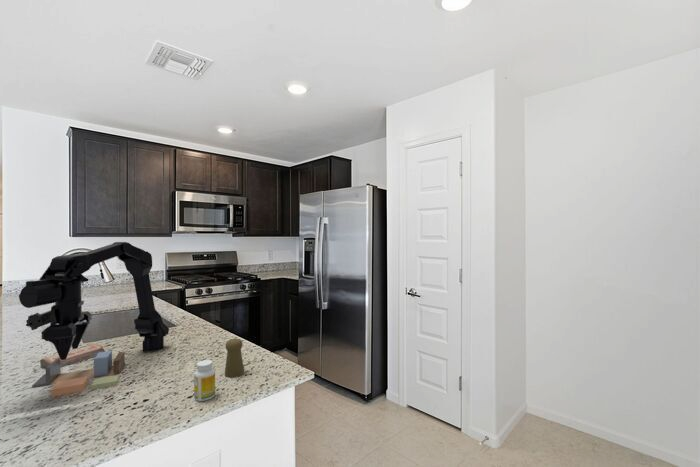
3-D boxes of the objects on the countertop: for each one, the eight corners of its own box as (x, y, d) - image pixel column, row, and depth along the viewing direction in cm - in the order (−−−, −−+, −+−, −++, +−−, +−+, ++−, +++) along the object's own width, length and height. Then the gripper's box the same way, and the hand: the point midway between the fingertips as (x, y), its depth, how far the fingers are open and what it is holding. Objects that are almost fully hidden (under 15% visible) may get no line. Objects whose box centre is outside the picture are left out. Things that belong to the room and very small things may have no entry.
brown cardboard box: (88, 387, 97) (88, 376, 97) (83, 396, 92) (83, 383, 92) (57, 393, 94) (57, 381, 94) (51, 402, 89) (51, 389, 89)
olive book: (119, 383, 100) (119, 374, 100) (116, 390, 96) (116, 380, 96) (95, 388, 97) (95, 378, 97) (91, 395, 93) (91, 385, 93)
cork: (248, 370, 107) (247, 337, 107) (236, 378, 102) (235, 343, 101) (233, 368, 109) (232, 335, 109) (220, 376, 104) (219, 341, 103)
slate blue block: (112, 367, 108) (111, 350, 108) (107, 374, 103) (107, 357, 103) (99, 369, 107) (99, 352, 107) (94, 376, 101) (93, 358, 101)
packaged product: (94, 341, 125) (108, 345, 120) (94, 353, 125) (108, 358, 120) (31, 358, 109) (45, 363, 104) (32, 372, 109) (45, 378, 104)
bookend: (60, 373, 103) (60, 358, 103) (50, 384, 96) (49, 367, 96) (44, 376, 102) (43, 360, 102) (32, 387, 95) (32, 370, 94)
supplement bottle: (190, 401, 88) (189, 366, 88) (201, 391, 94) (200, 358, 94) (208, 402, 88) (208, 367, 88) (219, 392, 93) (218, 359, 93)
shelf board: (124, 367, 111) (124, 351, 111) (119, 377, 103) (118, 360, 103) (42, 380, 102) (42, 362, 102) (29, 392, 94) (29, 373, 94)
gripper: (45, 296, 98) (46, 347, 98) (13, 309, 81) (15, 372, 81) (91, 293, 103) (92, 342, 103) (70, 305, 86) (71, 363, 86)
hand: (69, 353), depth 93 cm, fingers open, 9 cm apart
